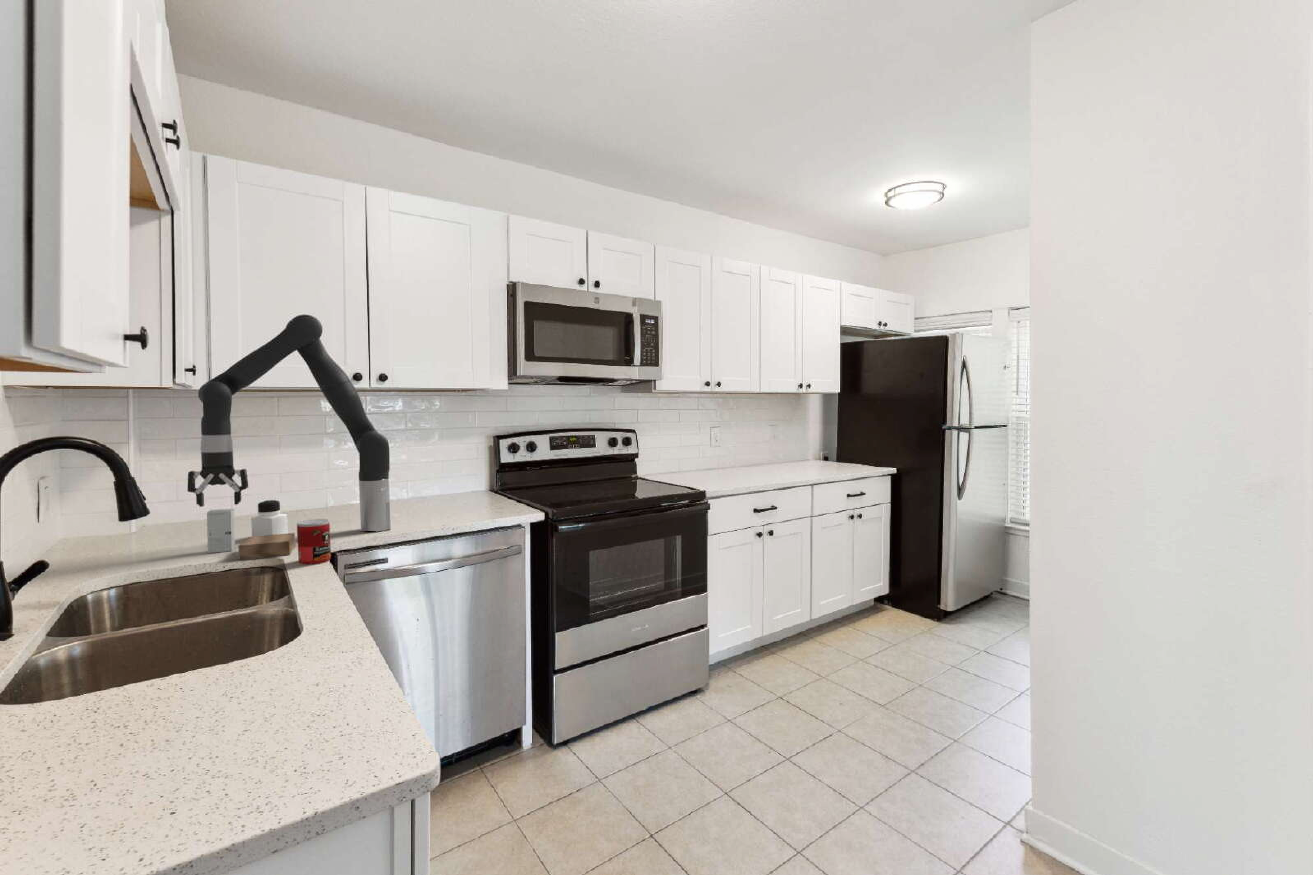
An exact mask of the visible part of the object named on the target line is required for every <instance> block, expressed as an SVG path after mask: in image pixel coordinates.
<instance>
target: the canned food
mask: <svg viewBox="0 0 1313 875" xmlns="http://www.w3.org/2000/svg"><path fill="white" fill-rule="evenodd" d="M296 534H297V535H296V536H297V538H296V539H297V555H298V557H297V558H298V562H299V564H302V565H309V566H310V565H317V564H318V565H319V564H324V563H326V562H328V561H330V560H331V557H332V550H331V547H332V546H331V526H330V520H329V519H326V518H312V519H305V520H300V521H298V522H296Z"/></svg>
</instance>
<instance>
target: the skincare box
mask: <svg viewBox="0 0 1313 875" xmlns="http://www.w3.org/2000/svg"><path fill="white" fill-rule="evenodd" d="M206 527H207V528H206V531H207V533H206V535H207V536H206V537H207V554H211V553H223V552H232V551H233V550H234V549H235V548H236V540H235V539H236V538H235V537H236V536H235V535H236V534H235V531H236V530H235V509H234V508H222V509H209V511H207V512H206Z"/></svg>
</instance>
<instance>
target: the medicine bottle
mask: <svg viewBox="0 0 1313 875" xmlns="http://www.w3.org/2000/svg"><path fill="white" fill-rule="evenodd" d="M250 521H251V525H250V526H251V537H252V536H264V535H276V534H288V533H289V532H288V529H289V528H288V514H286V513H281V503H280V500H276V499H273V500H272V499H268V500H262V501H260V502H258V503H257V516H253V517H251V518H250Z"/></svg>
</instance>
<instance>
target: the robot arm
mask: <svg viewBox="0 0 1313 875" xmlns="http://www.w3.org/2000/svg"><path fill="white" fill-rule="evenodd" d="M321 336H323V325H322V323H321V321H320V320H319V319H318V318H317V317H315V316H313V315H310V314H299V315H297V316H294V317H292V319H291V320H289V321H288V322H287V324H285V327H284V329H283V330H281V331H280V332H279V334H277V335H276V336H274V338H271V340H269V341H268V342H267V343H265V344H263V345H262V346H261V345H260V347H258V348H257V349H254V350H253V351H252V352H250V353H248V354H247V355H246V356H244V357H242V358H241V359H240V360H238V361H237V362H235V363H234V364H232V365H231V366H230V367H229V368H228V369H227V370H225V371H223V372H222V373H220V374H218V375H216V376H214V377H213V378H212V379H210V380H208V381H206V382H205V383H204V384H202V385H201V386H200V387H199V389H198V394H197V396H198V399H199V400H200V402H201V403H202V414H203V415H202V417H201V422H200V425H201V426H200V427H201V432H200V433H201V435H200V436H201V439H200V454H201V455H200V456H201V457H200V458H201V470H200V471H197V470H196V471H195V470H190V471H188V472H187V492H188V493H193V494H195V498H196V500H195V501H196V502H195V504H196V505H197V506H199V508H202V507H204V506H205V494H204V493H203V491H204V490H205V489H206V488H207V487H208V486H209V485H210V486H217V485H220V486H225V485H226V484H227V485H228V486H229V487H230V488H231V489H232V490H233V491H234V492H233V500H234V501H233V502H234V505H239V504H240V503H241V502H242V491H244V490H247V489H248V488H249V482H248V481H249V480H248V472H247V471H248V470H247V469H246V468H241V469H235V468H234V449H233V448H234V447H233V444H234V443H233V438H232V426H231V425H232V423H231V414H232V404H233V403H232V401H233V400H232V399H233V396H234V395H235V394H236V393H238V392H239V391H241V390H243V389H245V388H247V387H249V386H251V384H254V383H255V382H257V381H258V380H259V379H260V378H262V377H263V376H264V375H266V374H267V373H268V372H269V371H271V369H273V368H274V367H275V366H277V365H278V364H279V363H280V362H281V361H283V360H284V359H285V358H287V357H288V356H290V355H291V354H293V353H294V352H296V351H297V353H298V354H299V355H300V356H301V358H302V359H303V362H305V364H306V365H307V367H308V369H309V371H310V373H311V375H312V377H313V378H314V380H315V382H316V383H317V386H318V387H319V389H320V391H321V393H322V394H323V396H324V397H325V399H326V401H327V402H328V404H329V406H331V408H332V410H333V411H334V412H335V414H336V415H337V416H338V418H339V419H340V421H342V423H343V425H345V427H346V429H347V431H348V433H349V434H350V437H351V438H352V441H353V443H354V445H355V448H356V450H357V452H358V456H359V470H358V490H359V491H358V492H359V515H360V516H359V517H360V521H359V522H360V525H359V526H360V531H361V532H363V531H376V532H383V531H388V530H389V529H390V530H392V528H391V504H390V502H391V501H390V482H389V480H390V478H389V477H390V476H389V475H390V470H391V466H390V462H391V461H390V443H389V441H388V439H387V437H386V436H384V435H383V434H381V433H379V432H378V430H377V429H376V428H375V426H374V424H373V423H372V422H371V421H370V419H369V417H368V416H367V413H366V411H365V408H364V406H363V402H362V401H361V398H360V395H359V393H358V390H357V389H356V387H355V386H354V384H353V382H352V380H351V379H350V377H349V376H348V374H347V373H346V371H344V370H343V369H342V367H340V366H339V364H337V363H336V361H335V360H333V358H332V357H331V356H330V354H329V353H328V351H327V350H326V348H325V347H324V344H323V342H322V341H321ZM235 475H237V476H238V477H239V478H240V482H241V483H240V484H241V485H239V484H238V483H237V482H236V480H235V479H234V476H235ZM199 476H200V477H201V478H202V479H203V482H201V484H200V485H199V486H198V487H196V479H198V478H199Z"/></svg>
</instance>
